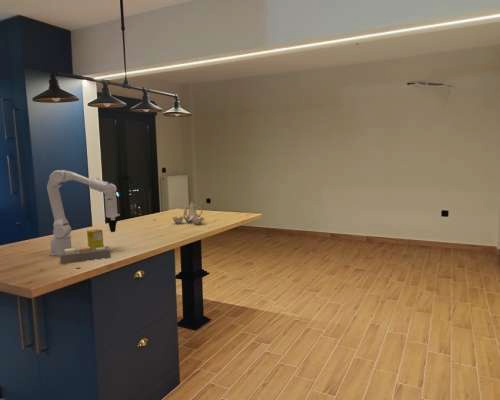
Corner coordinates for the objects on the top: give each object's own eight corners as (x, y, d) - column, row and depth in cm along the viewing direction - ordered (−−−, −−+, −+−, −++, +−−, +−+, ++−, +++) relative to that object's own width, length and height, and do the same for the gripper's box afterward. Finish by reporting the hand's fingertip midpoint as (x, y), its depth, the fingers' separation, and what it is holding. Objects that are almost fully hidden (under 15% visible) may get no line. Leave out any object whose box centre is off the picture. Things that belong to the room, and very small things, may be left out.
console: (61, 259, 189) (61, 250, 189) (108, 253, 198) (108, 245, 198) (61, 264, 180) (60, 255, 180) (110, 257, 189) (109, 249, 188)
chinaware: (169, 227, 284) (166, 205, 281) (179, 221, 300) (177, 200, 296) (203, 228, 275) (201, 205, 272) (212, 222, 291) (210, 200, 287)
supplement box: (98, 248, 212) (97, 228, 211) (104, 249, 208) (102, 229, 207) (88, 250, 207) (86, 230, 206) (93, 251, 204) (92, 231, 202)
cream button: (65, 255, 187) (64, 249, 187) (75, 253, 189) (74, 248, 188) (64, 257, 183) (64, 250, 183) (75, 255, 185) (74, 249, 184)
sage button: (96, 253, 193) (95, 248, 192) (105, 252, 195) (104, 247, 194) (96, 255, 189) (96, 249, 188) (105, 254, 191) (105, 248, 190)
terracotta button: (80, 253, 190) (80, 247, 190) (90, 252, 192) (89, 246, 191) (80, 255, 186) (80, 249, 186) (90, 254, 188) (90, 248, 187)
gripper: (120, 207, 196) (122, 233, 197) (117, 204, 209) (119, 229, 211) (105, 208, 193) (107, 234, 195) (104, 205, 206) (105, 230, 208)
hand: (112, 231), depth 202 cm, fingers closed
